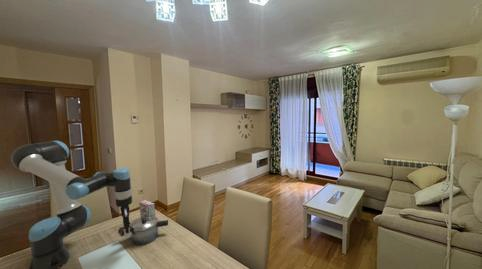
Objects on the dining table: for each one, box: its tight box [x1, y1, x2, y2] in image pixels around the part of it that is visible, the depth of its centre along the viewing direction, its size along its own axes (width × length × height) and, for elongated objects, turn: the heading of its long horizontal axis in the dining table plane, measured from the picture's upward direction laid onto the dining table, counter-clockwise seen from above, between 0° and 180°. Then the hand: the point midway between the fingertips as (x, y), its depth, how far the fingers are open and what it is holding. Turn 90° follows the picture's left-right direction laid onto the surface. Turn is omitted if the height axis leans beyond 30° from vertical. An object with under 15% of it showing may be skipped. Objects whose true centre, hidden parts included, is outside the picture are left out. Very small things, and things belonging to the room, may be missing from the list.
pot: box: [118, 219, 169, 247], centre depth 122 cm, size 28×15×9 cm, turn 106°
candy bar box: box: [138, 199, 156, 218], centre depth 136 cm, size 11×5×16 cm, turn 58°
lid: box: [118, 215, 159, 237], centre depth 119 cm, size 22×16×3 cm
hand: (127, 237), depth 108 cm, fingers closed
